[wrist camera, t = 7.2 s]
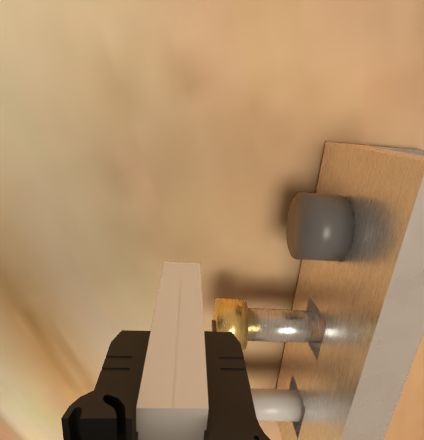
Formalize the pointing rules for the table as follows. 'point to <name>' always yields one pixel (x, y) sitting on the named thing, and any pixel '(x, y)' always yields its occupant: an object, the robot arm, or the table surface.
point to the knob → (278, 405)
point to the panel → (362, 298)
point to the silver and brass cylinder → (267, 323)
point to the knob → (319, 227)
